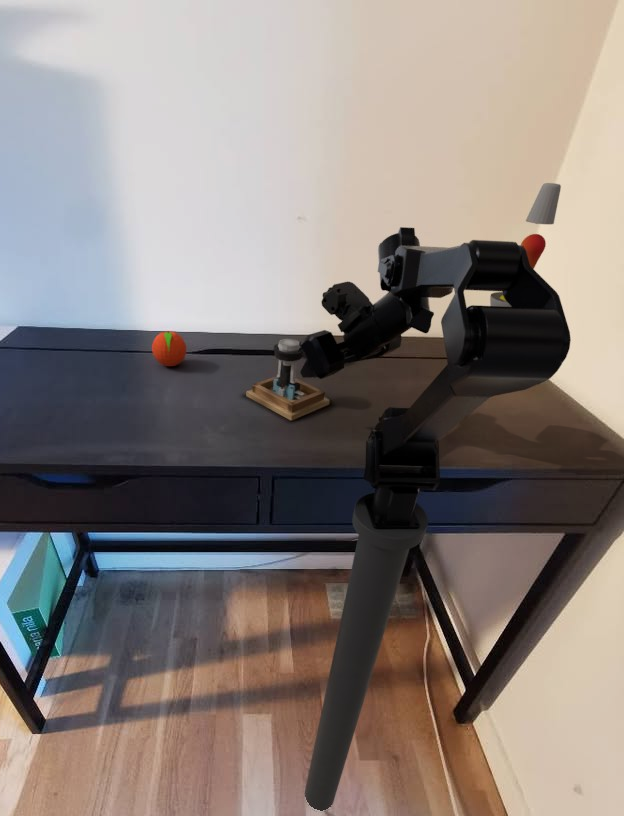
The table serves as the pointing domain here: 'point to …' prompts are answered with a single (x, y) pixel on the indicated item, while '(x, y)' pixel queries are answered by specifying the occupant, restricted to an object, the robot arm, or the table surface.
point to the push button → (287, 368)
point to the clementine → (169, 348)
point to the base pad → (285, 406)
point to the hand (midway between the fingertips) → (321, 367)
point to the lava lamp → (535, 243)
